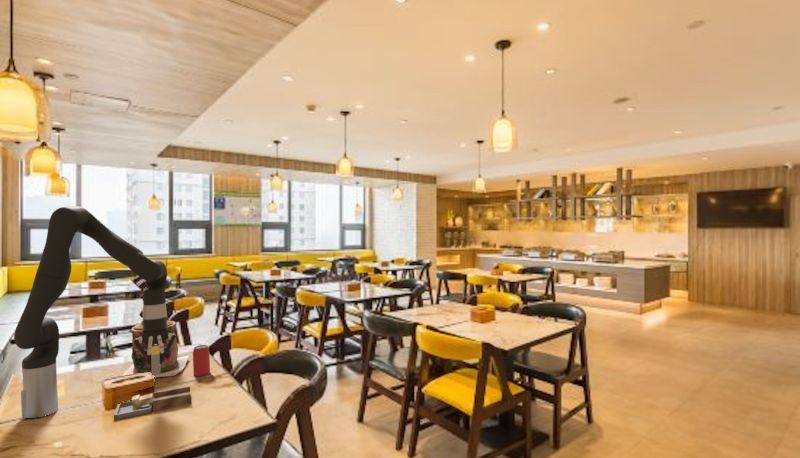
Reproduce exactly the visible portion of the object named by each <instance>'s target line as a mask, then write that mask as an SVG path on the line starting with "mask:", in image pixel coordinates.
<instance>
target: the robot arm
mask: <svg viewBox="0 0 800 458" xmlns="http://www.w3.org/2000/svg"><path fill="white" fill-rule="evenodd" d="M76 233H80V234H82V235H85V236H87V237H89V238H91V239H92V240H93V241H94V242H96V243H97V244H98V245H99V246H100V247H101V248H102V249H103V251H105V252H106V254H107V255H109V257H111V258H113V259H114V260H116V261H117V262H119V263H120V264H122V265H124V266H126V267H127V268H128V269H129V270H130V271H132V272H133V273H134V274H135V275H136V276H137V277H139V278H140V279H142V280H144V281H145V282H146V283H145V285H146V286H145V289H144V290H143V292H142V293H143V294H142V303H143V304H142V310H143V318H142V321H143V334H142V336H141V337H139V338H135V340H134V343H135V344H136V346H137V347H138V349H139V350H140V352H141V353H142V354H146V355H147V363H148V364H150V365H151V346H152V345H154V344H159V347H160V364H161V363H162V362H164V352H166V351H169V349H170V347H171V345H172V343H173V341H174V339H175V337H176V338H177V335H176V333H175V334H171V333H169V332H168V330H167V320H168V319H167V317H168V316H167V315H168V312H167V304H166V285H167V280H168V279H167V278H168V270H167V266H166V264H165V263H164V262H162V261H161V260H151V259H150V258H148V257H146V255H145V254H144V253H143V251H142V250H141V249H140V248H137V247H136V246H134V245H133V244H131V243H129V241H127V240H125V239H123V237H121V236H119V235H118V234H116V233H115V232H114V231H112V230H111V229H110V228H108V227H107V226H106V225H105V224H104V223H102V222H101V221H100V220H99V219H98V218H96V217H95V216H94V215H93V213H91V212H90V211H89V210H87V209H86V208H84V207H81V206H79V205H78V206H77V205H72V206H62V207H58V208H56V209H55V210H54V211H53V212H52V213H51V215H50V218H49V222H48V229H47V233H46V239H45V244H44V248H43V250H42V253H41V257H40V262H39V264H38V267H37V269H36V272H35V276H34V278H33V279H34V280H33V283H32V287H31V289H30V292H29V295H28V299H27V302H26V305H25V307H24V309H23V312H22V314H21V316H20V318H19V320H18V322H17V325H16V327H15V330H14V336H13V340H14V343H15V346H17V348H19V349H22V350H29V349H32V350H31V352H30V353H29V354H28V355H27V356H26V357H24V358H23V359H22V362H21V368H22V369H21V370H22V371H21V373H22V374H21V375H22V390H21V391H20V401H21V402H20V405H21V419H22V418H35V419H37V418H36V417H41V416H44V417H46V416H45V415H48V414H50V415H52V414H51V413H53V412H55V411H56V412H58V411H59V399H58V398H59V396H58V374H57V373H58V372H57V371H58V370H57V357H58V355H59V349H60V348H59V347H60V328H59V325H58V323H57V321H56V320H54V319H53V318H52V317H46V315H47V313H48V311H49V310H50V308H51V307H52V306H53V305H54V303H55V302H56V301H57V300H58V299H60V298H59V297H61V296H62V295H63V293H64V291H65V290H66V289H67V286H68V283H69V280H70V278H71V272H72V261H71V256H70V250H71V249H70V248H71V246H72V243H73V240H74V237H75V235H76ZM167 336H169V342H168V344H167V346H166V347H165V348H164V346H163V341H164V340H165V338H166V337H167ZM142 339H144V340H145V341H146V342H147V344H148V350H145V348H144V347H143V345H142V344H141V343H142ZM56 412H55V413H56ZM53 414H54V413H53ZM48 416H49V415H48ZM41 418H42V417H41Z"/></svg>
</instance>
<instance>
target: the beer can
mask: <svg viewBox="0 0 800 458" xmlns="http://www.w3.org/2000/svg"><path fill="white" fill-rule="evenodd" d="M210 359H211V357H210V348H209V345H206V344H200V345H197V346H194V347H193V351H192V365H193V371H192V372H193V376H196V377H205V376H207V375H209V374H210V372H211V363H210V362H211V361H210Z"/></svg>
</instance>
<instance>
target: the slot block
mask: <svg viewBox="0 0 800 458" xmlns="http://www.w3.org/2000/svg"><path fill="white" fill-rule="evenodd" d="M153 397H154V400H153V407H152V412H155V411H159V410H164V409H169V408H176V407H179V406H180V407H181V406H185V405H191V404H192V401H191V400H192V398H191V385H186V386H180V387H176V388H169V389H164V390H163V389H162V390H159V391H154V392H153Z"/></svg>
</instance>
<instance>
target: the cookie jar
mask: <svg viewBox="0 0 800 458" xmlns="http://www.w3.org/2000/svg"><path fill="white" fill-rule="evenodd" d="M138 316H139V317H140V318H142V319H143V309H142V310H141V311H140V312H139V315H138ZM176 327H177V323H176V321H173V320H168V319H167V330H168V332H169V333H171V334H176V331H175V328H176ZM130 333H131V335H132V337H131V338H132V347H131V361H132V364H131V365H130V366H129V368H128V369H126V370H125V371H124V373H123V374H122V376H124V375H129V374H133V373H144V372H151V373H152V366H151V365H150V364H148V363H147V355H146V354H142V353H141V352H140V350H139V349H138V347H137V346H136V344H135V343H134V340H135V338H139V337H141V336H142V334H143V320H141V322H140V323H137V324H135V326H132V327H131V328H130ZM168 342H169V336H167V337H166V338H165V340H164V341H163V346H164V348H165V347H166V346H167V344H168ZM141 344H142V345H143V347H144V348H145V350H148V344H147V342H146V341H145V340H144V339H142V343H141ZM178 353H179V347H178V342H177V336H176V337H175V339H174V341H173V343H172V345H171V347H170V349H169V351H166V352H164V362H162V363H161V364H160V367H161V370H160V374H153V375H154V376H155V378H164V377H175V376H176V375H177V374H179V373H182V372H183V370H184V369H185V367H186V366H187V365H186V364H187V363H188V361H189V358H190V355H185V356H180V357H178V355H179V354H178ZM155 378H154V379H155Z"/></svg>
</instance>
